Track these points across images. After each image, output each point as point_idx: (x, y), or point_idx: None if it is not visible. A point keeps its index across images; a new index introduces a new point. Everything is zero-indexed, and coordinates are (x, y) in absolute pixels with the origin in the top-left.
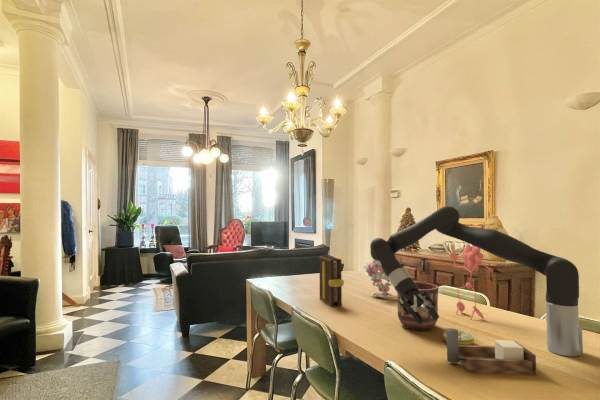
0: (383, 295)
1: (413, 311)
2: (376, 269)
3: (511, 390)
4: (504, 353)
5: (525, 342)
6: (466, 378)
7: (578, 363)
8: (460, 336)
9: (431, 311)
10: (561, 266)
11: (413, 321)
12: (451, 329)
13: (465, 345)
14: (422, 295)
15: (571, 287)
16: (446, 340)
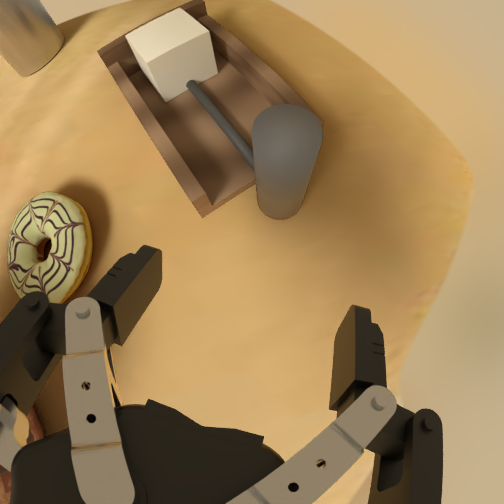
0: None
1: (389, 410)
2: None
3: (340, 57)
4: (210, 45)
5: (5, 116)
6: (362, 142)
7: (93, 22)
8: (60, 226)
9: (128, 312)
10: None
11: (32, 439)
12: (280, 137)
13: (170, 165)
14: (6, 442)
15: None
16: (77, 287)
